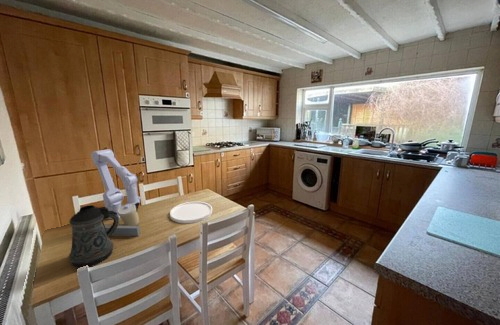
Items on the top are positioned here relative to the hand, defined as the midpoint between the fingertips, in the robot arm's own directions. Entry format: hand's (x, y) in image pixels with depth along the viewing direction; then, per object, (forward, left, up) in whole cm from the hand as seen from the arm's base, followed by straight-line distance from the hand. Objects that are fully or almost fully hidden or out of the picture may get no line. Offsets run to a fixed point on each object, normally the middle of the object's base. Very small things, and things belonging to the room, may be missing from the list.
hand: (134, 214), depth 126 cm
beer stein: (-2, -31, -5) cm, 31 cm away
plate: (+32, +12, -5) cm, 35 cm away
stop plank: (0, -15, -5) cm, 15 cm away
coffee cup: (0, -3, -3) cm, 5 cm away
